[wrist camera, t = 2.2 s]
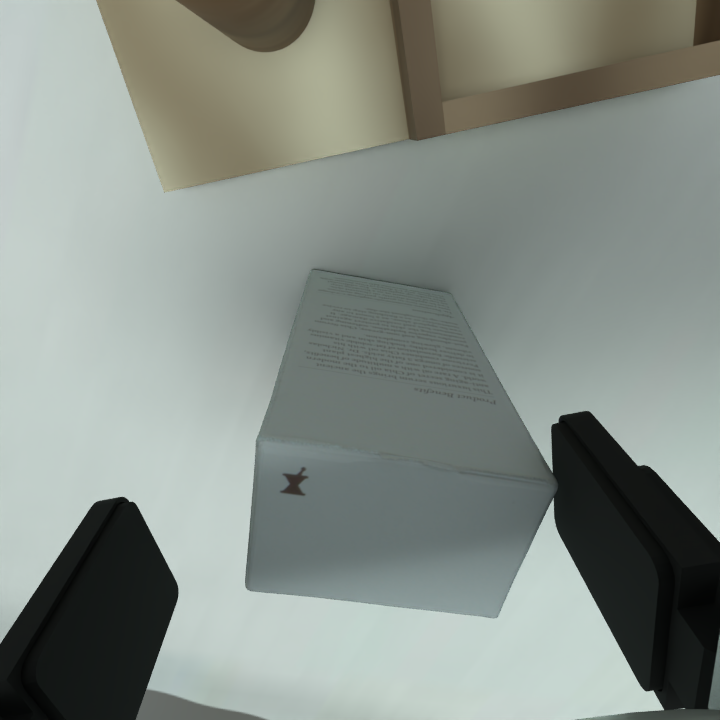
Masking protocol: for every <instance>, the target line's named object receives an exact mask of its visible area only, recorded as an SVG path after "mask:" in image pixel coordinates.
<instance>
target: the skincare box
mask: <svg viewBox="0 0 720 720" xmlns="http://www.w3.org/2000/svg"><path fill="white" fill-rule="evenodd" d="M557 489H558V483H557V480H556V478H555V476H554V475H553V473H552V471H551V470H550V468H549V466H548V465H547V463H546V461H545V460H544V458H543V456H542V455H541V453H540V451H539V449H538V447H537V446H536V444H535V442H534V441H533V439H532V437H531V435H530V434H529V432H528V430H527V428H526V427H525V425H524V423H523V421H522V420H521V418H520V416H519V414H518V413H517V411H516V409H515V407H514V406H513V404H512V402H511V400H510V398H509V397H508V395H507V393H506V391H505V389H504V388H503V386H502V384H501V382H500V381H499V379H498V377H497V375H496V373H495V371H494V370H493V368H492V366H491V364H490V362H489V361H488V359H487V357H486V355H485V354H484V352H483V350H482V348H481V346H480V345H479V343H478V341H477V339H476V337H475V336H474V334H473V332H472V330H471V328H470V326H469V325H468V323H467V321H466V319H465V317H464V316H463V314H462V312H461V310H460V309H459V307H458V305H457V303H456V302H455V300H454V298H453V296H452V295H451V294H450V293H446V292H440V291H434V290H428V289H423V288H417V287H412V286H406V285H400V284H394V283H389V282H383V281H377V280H371V279H365V278H360V277H354V276H348V275H342V274H336V273H331V272H325V271H320V270H311V272H310V274H309V277H308V280H307V283H306V286H305V290H304V293H303V296H302V299H301V303H300V306H299V308H298V311H297V315H296V318H295V321H294V324H293V327H292V330H291V334H290V337H289V340H288V343H287V347H286V350H285V354H284V356H283V359H282V363H281V366H280V369H279V373H278V376H277V379H276V383H275V386H274V390H273V394H272V397H271V400H270V403H269V406H268V409H267V412H266V415H265V417H264V420H263V423H262V426H261V429H260V432H259V434H258V437H257V439H256V453H255V468H254V482H253V494H252V506H251V519H250V531H249V542H248V554H247V565H246V577H245V585H246V588H247V590H250V591H255V592H264V593H276V594H287V595H297V596H308V597H318V598H326V599H335V600H344V601H353V602H361V603H369V604H377V605H385V606H393V607H403V608H412V609H421V610H430V611H439V612H447V613H455V614H464V615H473V616H482V617H488V618H497V617H498V615H499V613H500V611H501V608H502V606H503V603H504V601H505V599H506V597H507V594H508V592H509V590H510V588H511V585H512V583H513V581H514V579H515V576H516V574H517V572H518V570H519V568H520V566H521V564H522V562H523V560H524V558H525V556H526V554H527V552H528V550H529V547H530V545H531V543H532V541H533V539H534V537H535V535H536V532H537V530H538V528H539V526H540V524H541V522H542V520H543V518H544V516H545V514H546V511H547V509H548V507H549V505H550V503H551V502H552V500H553V498H554V496H555V494H556V492H557Z"/></svg>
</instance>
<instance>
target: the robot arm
mask: <svg viewBox="0 0 720 720" xmlns="http://www.w3.org/2000/svg"><path fill="white" fill-rule="evenodd" d="M551 435H552V463H553V475H554V476H555V478H556V480H557V483H558V489H557V492H556V494H555V496H554V517H555V523H556V527H557V530H558V533H559V535H560V537H561V539H562V540H563V542H564V544H565V546H566V548H567V550H568V552H569V553H570V555H571V557H572V559H573V561H574V563H575V565H576V567H577V568H578V570H579V572H580V574H581V576H582V578H583V580H584V581H585V583H586V585H587V587H588V589H589V591H590V593H591V595H592V596H593V598H594V600H595V602H596V604H597V606H598V608H599V609H600V611H601V613H602V615H603V617H604V619H605V621H606V623H607V624H608V626H609V628H610V630H611V632H612V634H613V636H614V637H615V639H616V641H617V643H618V645H619V647H620V649H621V651H622V652H623V654H624V656H625V658H626V660H627V662H628V664H629V665H630V667H631V669H632V671H633V673H634V675H635V677H636V679H637V680H638V682H639V684H640V685H641V687H642V688H643V689H644V690H645V691H652V690H654V692H655V694H656V696H657V698H658V699H659V701H660V703H661V705H662V707H663V708H664V710H661V711H648V712H634V713H625V714H617V715H609V716H601V717H593V718H585V719H577V720H720V542H719V541H718V540H717V539H716V538H715V537H714V536H713V535H712V533H711V532H710V531H709V530H708V529H707V528H706V527H705V526H704V525H703V524H702V523H701V521H700V520H699V519H698V518H697V517H696V516H695V515H694V514H693V513H692V512H691V510H690V509H689V508H688V507H687V506H686V505H685V504H684V503H683V502H682V501H681V500H680V498H679V497H678V496H677V495H676V494H675V493H674V492H673V491H672V490H671V489H670V488H669V486H668V485H667V484H666V483H665V482H664V481H663V480H662V479H661V478H660V477H659V475H658V474H657V473H656V472H655V471H654V470H652V469H651V468H650V467H648V466H645V465H642V466H637V465H636V463H635V462H634V461H633V460H632V459H631V458H630V457H629V456H628V454H627V453H626V452H625V451H624V450H623V449H622V448H621V446H620V445H619V444H618V443H617V442H616V441H615V440H614V438H613V437H612V436H611V435H610V434H609V433H608V432H607V430H606V429H605V428H604V427H603V426H602V425H601V424H600V422H599V421H598V420H597V419H596V418H595V417H594V416H593V415H592V414H591V413H590V412H589V411H583V412H578V413H573V414H567V415H562V416H560V418H559V423H556V424H553V425H552V427H551ZM177 599H178V585H177V582H176V580H175V578H174V576H173V574H172V572H171V571H170V569H169V567H168V565H167V563H166V561H165V559H164V557H163V555H162V553H161V551H160V549H159V547H158V545H157V543H156V542H155V540H154V538H153V536H152V534H151V532H150V530H149V528H148V526H147V524H146V522H145V520H144V518H143V516H142V514H141V513H140V511H139V509H138V507H137V505H136V504H135V503H134V502H129V501H128V499H126V498H125V497H118V498H113V499H107V500H102V501H98V502H96V503H94V504H93V506H92V507H91V508H90V510H89V511H88V513H87V514H86V516H85V517H84V519H83V520H82V522H81V523H80V525H79V526H78V528H77V529H76V531H75V532H74V534H73V535H72V537H71V538H70V540H69V541H68V543H67V544H66V546H65V547H64V549H63V550H62V552H61V553H60V555H59V556H58V558H57V559H56V561H55V562H54V564H53V565H52V567H51V568H50V570H49V571H48V573H47V574H46V576H45V578H44V579H43V581H42V582H41V584H40V585H39V587H38V588H37V590H36V591H35V593H34V594H33V596H32V597H31V599H30V600H29V602H28V603H27V605H26V606H25V608H24V609H23V611H22V612H21V614H20V615H19V617H18V618H17V620H16V621H15V623H14V624H13V626H12V627H11V629H10V630H9V632H8V633H7V635H6V636H5V638H4V639H3V641H2V642H1V644H0V720H136V717H137V714H138V711H139V708H140V705H141V703H142V700H143V697H144V694H145V691H146V688H147V686H148V683H149V680H150V677H151V674H152V671H153V668H154V666H155V663H156V660H157V657H158V654H159V651H160V648H161V646H162V643H163V640H164V637H165V634H166V631H167V628H168V626H169V623H170V620H171V617H172V614H173V611H174V608H175V606H176V603H177ZM681 708H685V709H681ZM674 709H675V710H674Z"/></svg>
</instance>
